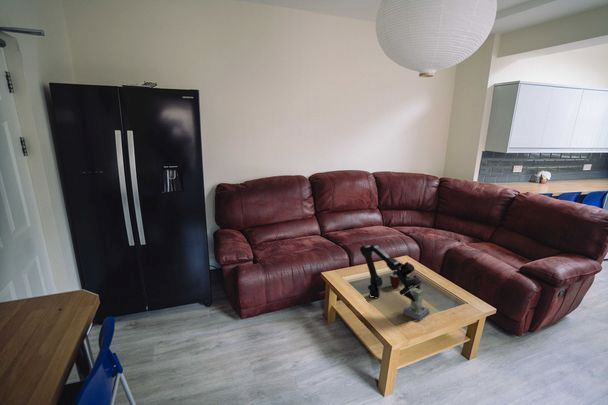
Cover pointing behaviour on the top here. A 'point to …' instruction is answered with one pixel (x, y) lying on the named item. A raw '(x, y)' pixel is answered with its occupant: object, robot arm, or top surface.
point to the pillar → (416, 300)
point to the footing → (415, 315)
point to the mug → (394, 280)
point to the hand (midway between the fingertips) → (418, 298)
